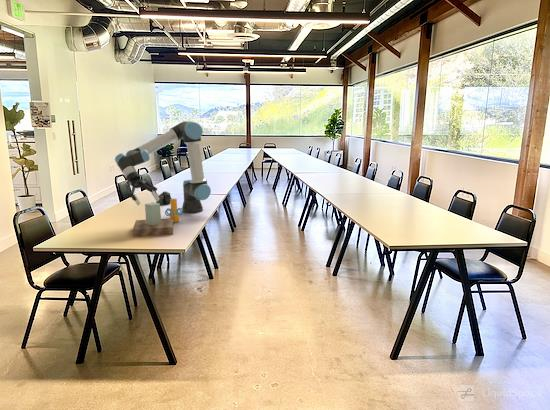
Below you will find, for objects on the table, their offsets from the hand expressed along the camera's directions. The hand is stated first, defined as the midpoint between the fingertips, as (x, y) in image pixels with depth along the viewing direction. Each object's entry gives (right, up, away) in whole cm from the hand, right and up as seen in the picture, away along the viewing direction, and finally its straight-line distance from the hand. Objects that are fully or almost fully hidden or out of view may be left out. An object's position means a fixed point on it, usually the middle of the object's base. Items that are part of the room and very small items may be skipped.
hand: (149, 202), depth 229 cm
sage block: (+3, -13, 0) cm, 13 cm away
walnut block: (+3, -18, +2) cm, 18 cm away
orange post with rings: (+9, -13, +24) cm, 28 cm away
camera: (-13, -1, +79) cm, 80 cm away
